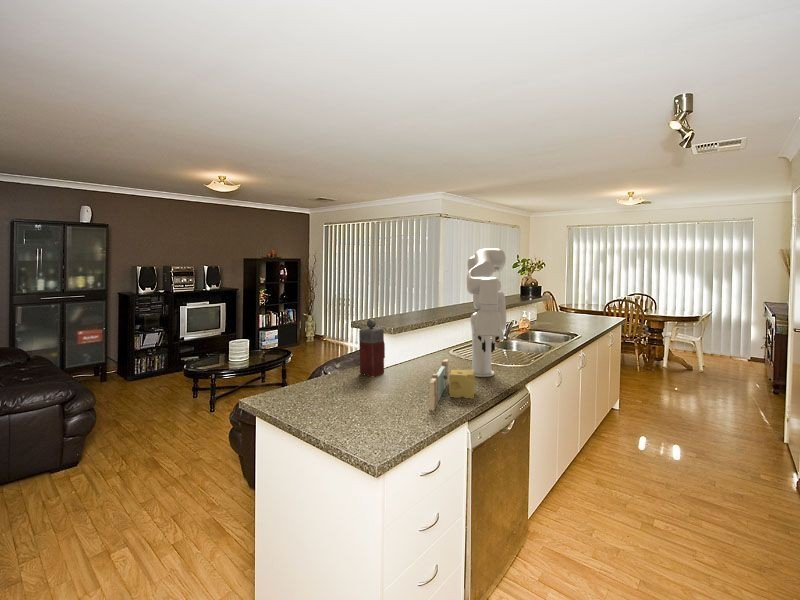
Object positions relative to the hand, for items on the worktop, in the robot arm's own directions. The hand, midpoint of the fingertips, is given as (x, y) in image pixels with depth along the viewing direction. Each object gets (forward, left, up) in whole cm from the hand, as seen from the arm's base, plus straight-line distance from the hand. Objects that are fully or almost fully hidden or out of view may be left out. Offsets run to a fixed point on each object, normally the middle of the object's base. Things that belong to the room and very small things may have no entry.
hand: (488, 351), depth 179 cm
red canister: (-26, -59, -19) cm, 67 cm away
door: (+3, -20, -19) cm, 28 cm away
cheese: (0, -11, -19) cm, 22 cm away
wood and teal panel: (+2, -20, -19) cm, 28 cm away
